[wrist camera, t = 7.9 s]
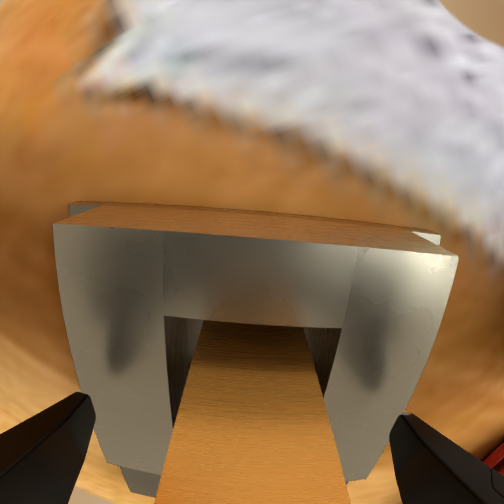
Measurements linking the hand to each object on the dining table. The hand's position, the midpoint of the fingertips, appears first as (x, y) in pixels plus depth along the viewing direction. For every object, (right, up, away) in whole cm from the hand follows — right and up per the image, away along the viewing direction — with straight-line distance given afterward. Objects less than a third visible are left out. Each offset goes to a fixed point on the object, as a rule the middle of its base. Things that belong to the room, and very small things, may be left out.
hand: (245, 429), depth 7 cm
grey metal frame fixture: (0, -3, +6) cm, 7 cm away
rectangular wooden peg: (0, +1, +4) cm, 4 cm away
